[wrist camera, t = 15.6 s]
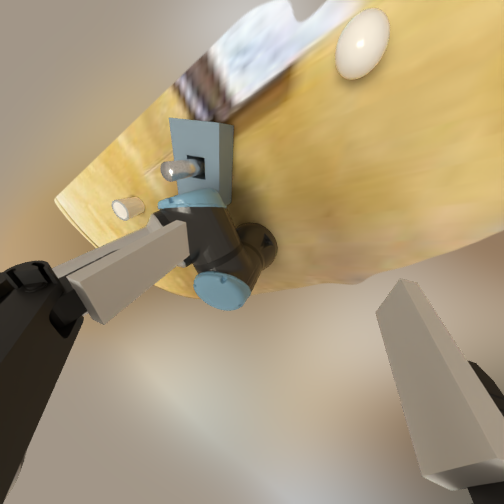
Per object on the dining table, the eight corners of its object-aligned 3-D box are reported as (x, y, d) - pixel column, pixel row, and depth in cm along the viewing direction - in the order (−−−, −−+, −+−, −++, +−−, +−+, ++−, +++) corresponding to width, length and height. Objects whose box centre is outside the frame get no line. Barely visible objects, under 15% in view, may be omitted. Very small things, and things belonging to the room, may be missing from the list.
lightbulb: (333, 50, 31) (335, 12, 22) (377, 31, 28) (400, -21, 19) (333, 97, 33) (336, 80, 25) (374, 83, 31) (393, 59, 22)
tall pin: (217, 172, 48) (176, 183, 35) (205, 170, 49) (162, 179, 36) (217, 157, 46) (174, 163, 33) (205, 156, 47) (159, 160, 34)
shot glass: (149, 207, 63) (131, 213, 57) (141, 217, 67) (124, 224, 61) (134, 190, 61) (114, 195, 56) (127, 202, 65) (108, 208, 60)
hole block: (231, 202, 51) (219, 209, 46) (194, 194, 54) (179, 200, 48) (233, 125, 41) (219, 122, 36) (189, 120, 44) (168, 117, 38)
